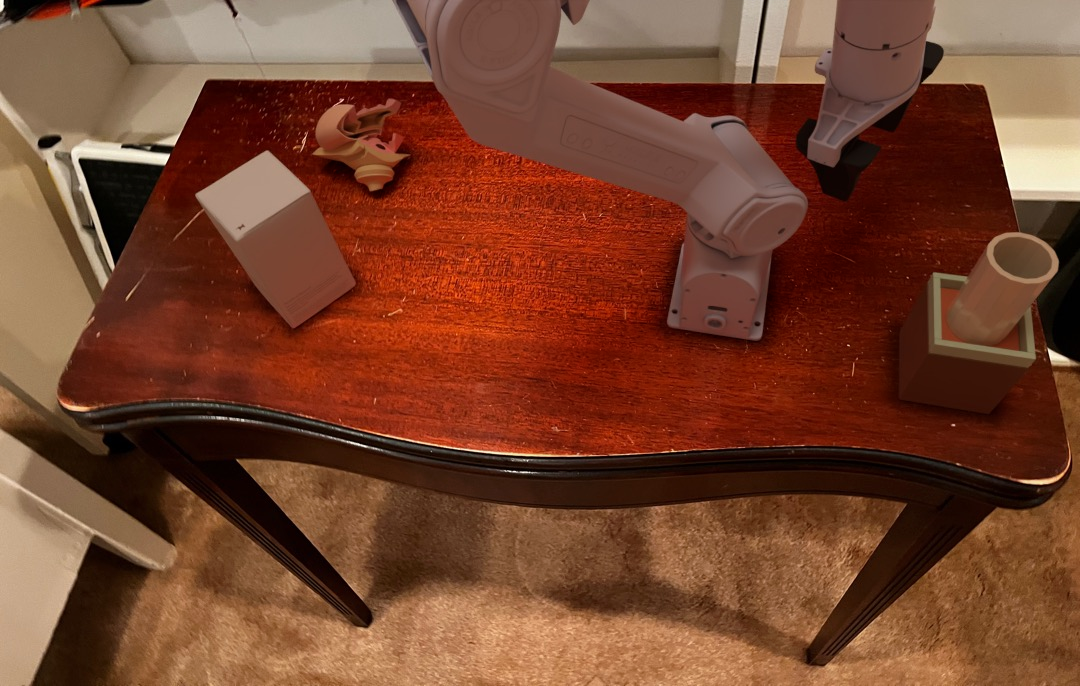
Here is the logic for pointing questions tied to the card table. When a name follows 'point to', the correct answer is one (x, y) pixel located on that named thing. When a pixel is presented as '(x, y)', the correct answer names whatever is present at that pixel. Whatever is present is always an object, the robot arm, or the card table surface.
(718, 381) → the card table surface
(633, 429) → the card table surface
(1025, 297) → the beige hollow cylinder
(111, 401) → the card table surface
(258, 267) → the white packaging box
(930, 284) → the holder
